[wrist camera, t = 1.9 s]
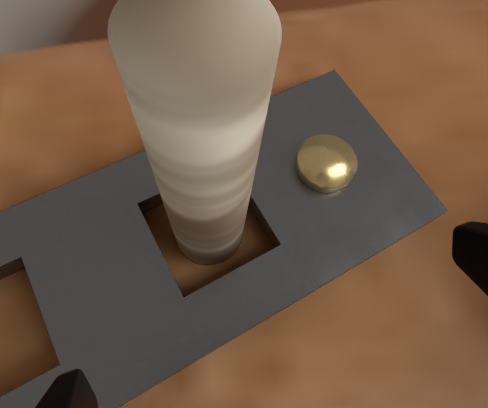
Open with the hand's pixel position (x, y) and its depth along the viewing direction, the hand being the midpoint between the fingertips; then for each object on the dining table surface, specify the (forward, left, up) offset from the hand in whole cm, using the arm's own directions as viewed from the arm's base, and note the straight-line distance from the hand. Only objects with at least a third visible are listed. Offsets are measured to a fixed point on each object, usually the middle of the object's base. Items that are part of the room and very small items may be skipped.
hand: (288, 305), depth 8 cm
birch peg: (+5, +4, -13) cm, 14 cm away
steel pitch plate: (+3, +6, -13) cm, 14 cm away
